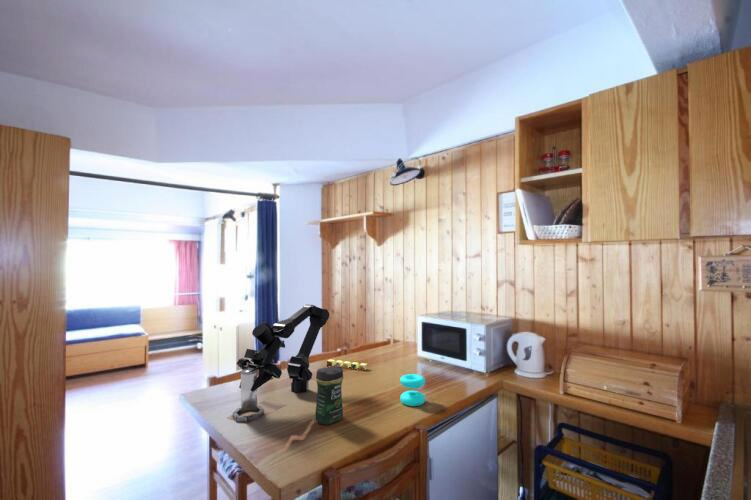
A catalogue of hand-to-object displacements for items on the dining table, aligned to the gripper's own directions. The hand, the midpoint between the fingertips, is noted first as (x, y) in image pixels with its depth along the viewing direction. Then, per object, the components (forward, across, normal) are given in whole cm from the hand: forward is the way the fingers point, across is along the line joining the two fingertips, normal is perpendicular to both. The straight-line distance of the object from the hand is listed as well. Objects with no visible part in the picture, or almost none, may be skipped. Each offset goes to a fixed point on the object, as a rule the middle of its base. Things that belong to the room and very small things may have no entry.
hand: (245, 389), depth 123 cm
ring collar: (+6, 0, +8) cm, 10 cm away
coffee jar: (-2, +26, +18) cm, 32 cm away
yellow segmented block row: (-39, -2, +56) cm, 69 cm away
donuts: (-22, +46, +39) cm, 64 cm away
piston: (+4, 0, +6) cm, 7 cm away
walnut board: (+4, 0, +12) cm, 12 cm away
